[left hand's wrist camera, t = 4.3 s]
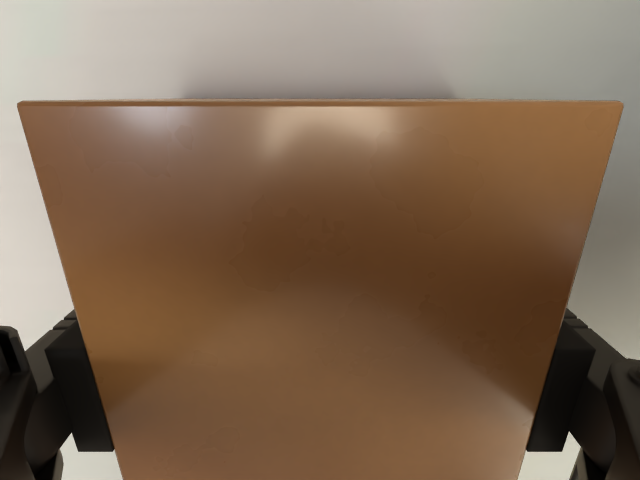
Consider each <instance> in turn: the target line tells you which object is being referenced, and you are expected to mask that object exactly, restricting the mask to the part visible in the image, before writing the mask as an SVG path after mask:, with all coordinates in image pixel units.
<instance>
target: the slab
mask: <svg viewBox="0 0 640 480" xmlns="http://www.w3.org/2000/svg"><path fill="white" fill-rule="evenodd" d="M17 108H18V112H19V115H20V119H21V122H22V126H23V129H24V133H25V136H26V140H27V143H28V147H29V150H30V154H31V157H32V161H33V164H34V168H35V171H36V175H37V178H38V182H39V185H40V189H41V192H42V196H43V200H44V203H45V207H46V210H47V214H48V217H49V221H50V224H51V228H52V231H53V235H54V238H55V242H56V245H57V249H58V252H59V256H60V259H61V263H62V266H63V270H64V273H65V277H66V281H67V284H68V288H69V291H70V295H71V298H72V302H73V305H74V309H75V312H76V316H77V319H78V323H79V326H80V330H81V333H82V337H83V340H84V344H85V347H86V351H87V354H88V358H89V361H90V365H91V369H92V372H93V376H94V379H95V383H96V386H97V390H98V393H99V397H100V400H101V404H102V407H103V411H104V414H105V418H106V421H107V425H108V428H109V432H110V435H111V439H112V442H113V446H114V450H115V453H116V457H117V460H118V464H119V467H120V471H121V474H122V478H123V480H517V479H518V476H519V472H520V469H521V465H522V462H523V458H524V455H525V451H526V448H527V444H528V441H529V437H530V434H531V430H532V427H533V423H534V420H535V416H536V413H537V409H538V406H539V402H540V398H541V395H542V391H543V388H544V384H545V381H546V377H547V374H548V370H549V367H550V363H551V360H552V356H553V353H554V349H555V346H556V342H557V339H558V335H559V332H560V328H561V325H562V321H563V318H564V314H565V311H566V307H567V304H568V300H569V297H570V293H571V290H572V286H573V283H574V279H575V276H576V272H577V269H578V265H579V262H580V258H581V254H582V251H583V247H584V244H585V240H586V237H587V233H588V230H589V226H590V223H591V219H592V216H593V212H594V209H595V205H596V202H597V198H598V195H599V191H600V188H601V184H602V181H603V177H604V174H605V170H606V167H607V163H608V160H609V156H610V153H611V149H612V146H613V142H614V139H615V135H616V132H617V128H618V125H619V121H620V118H621V114H622V110H623V103H622V102H620V101H597V100H521V99H119V100H43V101H21V102H19V103H17Z"/></svg>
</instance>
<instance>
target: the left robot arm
mask: <svg viewBox="0 0 640 480" xmlns="http://www.w3.org/2000/svg"><path fill="white" fill-rule="evenodd" d="M569 431H570V433H571V434H572V435H573V437H574V438H575V439H576V441H577V442H578V443H579V445H580V446H581V448H580V451H579V454H578V457H577V459H576V462H575V465H574V468H573V470H572V473H571V476H570V479H569V480H640V360H634V359H626V358H625V357H623V356H622V355H621V354H620V353H619V352H618V351H616V350H615V349H614V348H613V347H612V346H611V345H609V344H608V343H607V342H606V341H605V340H604V339H602V338H601V337H600V336H599V335H598V334H597V333H595V332H594V331H593V330H592V329H591V328H588V326H587V325H586V324H585V323H584V322H583V321H581V320H580V319H577V316H576V315H574V314H573V313H572V312H571V311H570V310H569V309H567V308H566V311H565V314H564V318H563V321H562V325H561V328H560V332H559V335H558V339H557V342H556V346H555V349H554V353H553V356H552V360H551V363H550V367H549V370H548V374H547V377H546V381H545V384H544V388H543V391H542V395H541V398H540V402H539V406H538V409H537V413H536V416H535V420H534V423H533V427H532V430H531V434H530V437H529V441H528V444H527V448H526V450H527V452H562V450H563V447H564V444H565V441H566V438H567V435H568V432H569ZM71 432H72V434H73V437H74V440H75V443H76V446H77V449H78V452H113V450H114V446H113V442H112V439H111V435H110V432H109V428H108V425H107V421H106V418H105V414H104V411H103V407H102V404H101V400H100V397H99V393H98V390H97V386H96V383H95V379H94V376H93V372H92V369H91V365H90V361H89V358H88V354H87V351H86V347H85V344H84V340H83V337H82V333H81V330H80V326H79V323H78V319H77V316H76V312H75V309H74V310H73V311H71V312H70V313H69V314H68V315H67V316H66V317H64V320H61V321H60V322H59V323H58V324H56V325H55V326H54V327H53V330H49V331H48V332H47V333H46V334H45V335H44V336H42V337H41V338H40V339H39V340H38V341H37V342H36V343H34V344H33V345H32V346H31V347H30V348H29V349H27V350H26V351H24V348H23V345H22V343H21V340H20V337H19V334H18V331H17V330H16V329H14V328H12V327H10V326H0V480H61V477H62V471H63V457H62V454H61V451H60V447H61V446H62V445H63V443H64V442H65V441H66V439H67V438H68V436H69V435H70V434H71Z"/></svg>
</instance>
